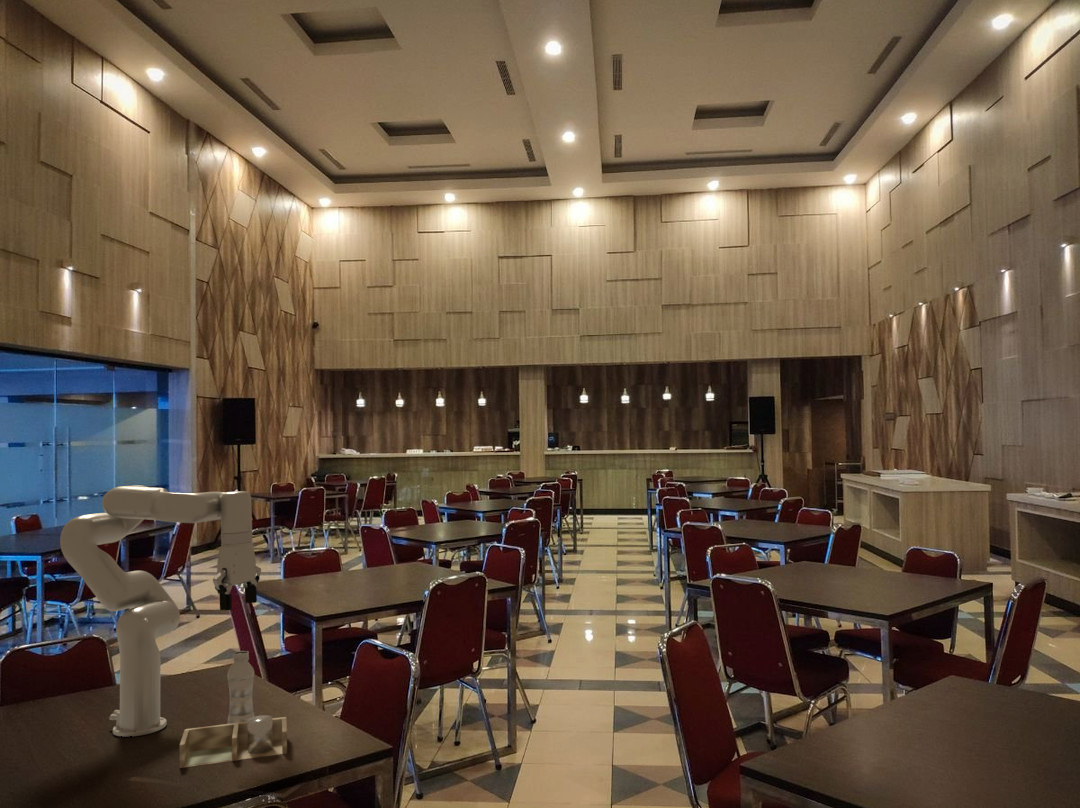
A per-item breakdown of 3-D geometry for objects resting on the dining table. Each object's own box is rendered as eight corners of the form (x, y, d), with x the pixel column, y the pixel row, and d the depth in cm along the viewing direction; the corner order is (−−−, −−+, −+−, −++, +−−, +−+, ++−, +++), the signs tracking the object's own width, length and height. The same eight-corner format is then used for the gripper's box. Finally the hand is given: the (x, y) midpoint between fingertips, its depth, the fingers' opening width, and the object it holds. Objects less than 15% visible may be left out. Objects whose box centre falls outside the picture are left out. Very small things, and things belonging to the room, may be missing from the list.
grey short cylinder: (242, 752, 186) (242, 722, 186) (257, 744, 191) (257, 714, 192) (263, 754, 184) (262, 724, 185) (277, 746, 190) (277, 716, 190)
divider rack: (179, 771, 178) (179, 744, 178) (184, 754, 188) (184, 729, 189) (286, 756, 185) (286, 731, 185) (286, 740, 195) (286, 716, 196)
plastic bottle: (246, 737, 199) (246, 656, 200) (221, 735, 200) (222, 655, 201) (260, 728, 205) (260, 649, 206) (236, 727, 206) (236, 649, 208)
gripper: (246, 536, 214) (248, 600, 213) (201, 543, 198) (202, 613, 197) (270, 535, 212) (272, 600, 211) (226, 543, 196) (228, 613, 194)
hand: (238, 606), depth 204 cm, fingers open, 9 cm apart
